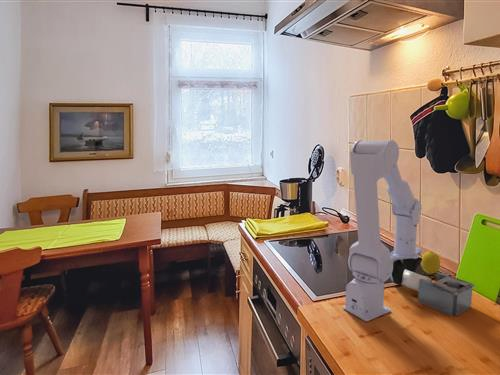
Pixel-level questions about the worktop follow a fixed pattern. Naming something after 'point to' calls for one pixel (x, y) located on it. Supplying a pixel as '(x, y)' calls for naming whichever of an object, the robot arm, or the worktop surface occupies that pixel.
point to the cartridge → (412, 279)
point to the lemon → (430, 262)
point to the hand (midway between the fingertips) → (403, 281)
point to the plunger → (453, 284)
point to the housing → (446, 294)
